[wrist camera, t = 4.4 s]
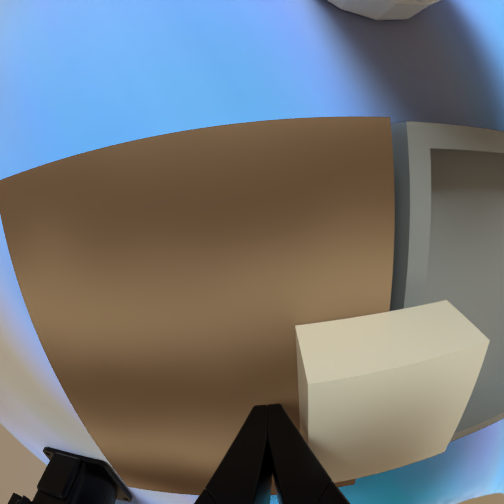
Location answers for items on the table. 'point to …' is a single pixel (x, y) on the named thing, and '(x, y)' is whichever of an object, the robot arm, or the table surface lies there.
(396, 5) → the white cup
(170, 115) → the table surface
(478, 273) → the box
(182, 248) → the plate
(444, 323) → the tile
